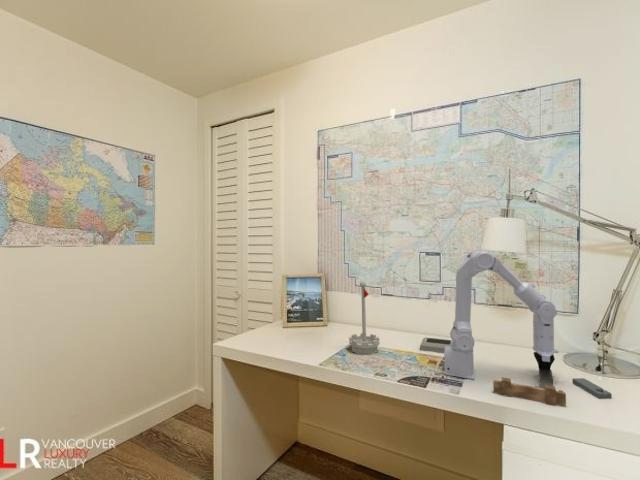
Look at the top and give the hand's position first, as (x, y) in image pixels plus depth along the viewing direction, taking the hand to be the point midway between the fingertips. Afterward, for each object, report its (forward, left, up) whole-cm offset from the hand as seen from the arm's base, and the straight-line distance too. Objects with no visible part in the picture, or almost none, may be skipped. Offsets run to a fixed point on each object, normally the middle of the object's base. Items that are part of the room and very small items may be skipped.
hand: (544, 375), depth 108 cm
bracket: (+12, -3, -2) cm, 12 cm away
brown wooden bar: (-6, -16, -1) cm, 17 cm away
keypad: (-36, +15, -2) cm, 39 cm away
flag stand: (-64, 0, -1) cm, 65 cm away
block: (0, -6, -1) cm, 6 cm away
